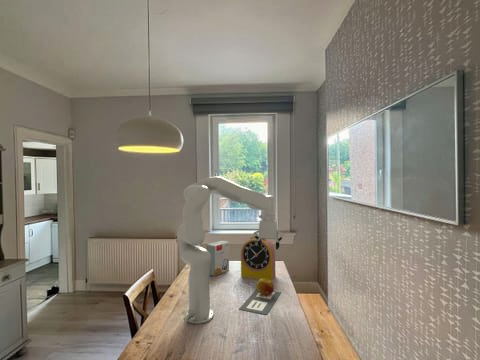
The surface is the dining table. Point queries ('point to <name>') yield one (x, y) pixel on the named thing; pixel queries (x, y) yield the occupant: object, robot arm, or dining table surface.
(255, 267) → the alarm clock
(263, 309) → the label mat
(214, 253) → the hard drive box
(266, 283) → the fruit
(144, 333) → the dining table surface
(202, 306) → the robot arm
